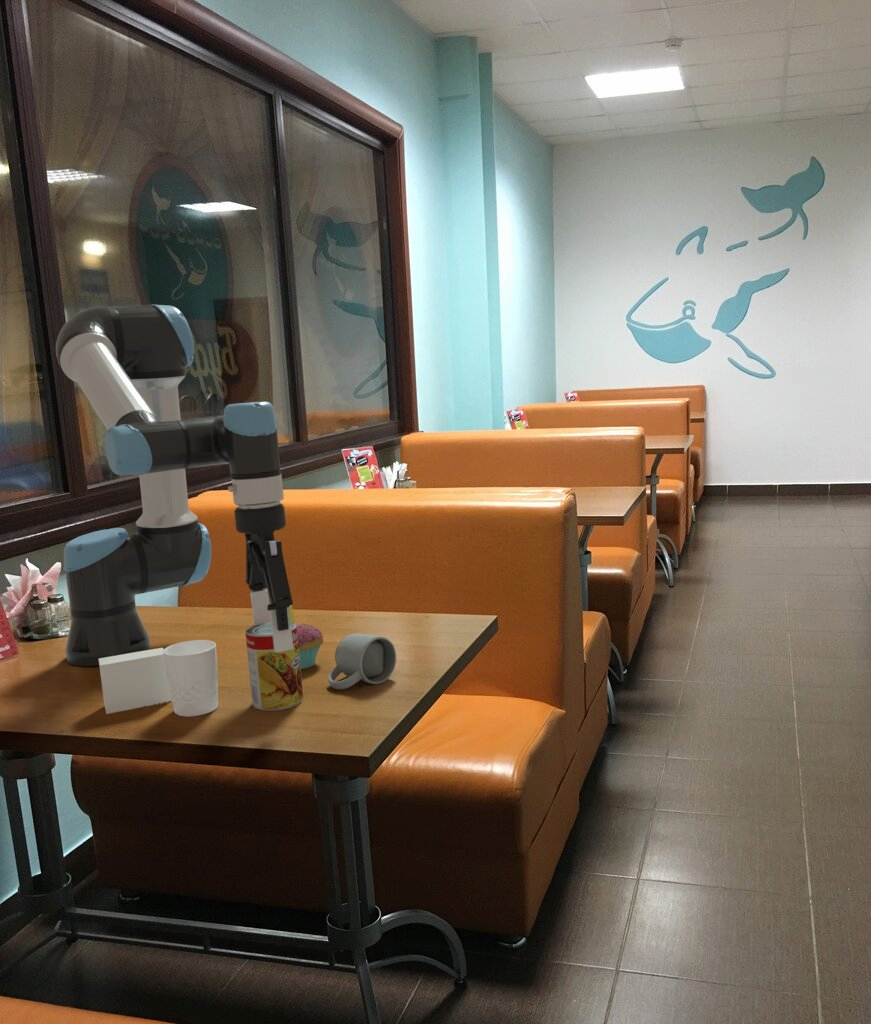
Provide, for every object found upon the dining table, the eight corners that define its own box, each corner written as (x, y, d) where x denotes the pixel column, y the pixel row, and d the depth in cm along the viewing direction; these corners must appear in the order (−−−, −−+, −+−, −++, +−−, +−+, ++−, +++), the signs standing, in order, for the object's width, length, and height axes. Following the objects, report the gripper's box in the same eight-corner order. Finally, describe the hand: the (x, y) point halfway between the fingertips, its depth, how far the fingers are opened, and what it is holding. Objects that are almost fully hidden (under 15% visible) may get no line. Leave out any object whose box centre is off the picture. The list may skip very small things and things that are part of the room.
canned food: (311, 701, 148) (304, 627, 146) (264, 714, 143) (256, 638, 141) (290, 689, 154) (284, 617, 152) (245, 701, 150) (237, 627, 148)
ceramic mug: (367, 667, 162) (363, 624, 161) (399, 676, 157) (395, 632, 155) (318, 686, 155) (313, 641, 154) (349, 696, 149) (344, 649, 148)
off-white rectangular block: (104, 706, 152) (98, 658, 151) (168, 694, 156) (162, 647, 155) (106, 714, 148) (100, 665, 147) (171, 701, 152) (166, 653, 151)
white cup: (201, 696, 153) (195, 637, 152) (232, 705, 148) (226, 644, 147) (160, 712, 147) (152, 650, 146) (191, 722, 142) (183, 658, 141)
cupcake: (310, 674, 161) (304, 605, 159) (267, 671, 164) (260, 604, 162) (333, 658, 169) (327, 592, 167) (291, 655, 172) (285, 591, 170)
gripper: (219, 499, 154) (233, 626, 157) (252, 516, 131) (267, 664, 134) (264, 494, 157) (277, 618, 160) (304, 509, 134) (318, 654, 137)
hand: (273, 640), depth 147 cm, fingers open, 13 cm apart
